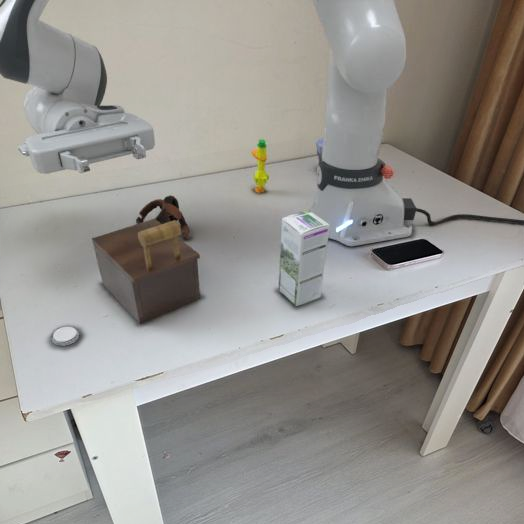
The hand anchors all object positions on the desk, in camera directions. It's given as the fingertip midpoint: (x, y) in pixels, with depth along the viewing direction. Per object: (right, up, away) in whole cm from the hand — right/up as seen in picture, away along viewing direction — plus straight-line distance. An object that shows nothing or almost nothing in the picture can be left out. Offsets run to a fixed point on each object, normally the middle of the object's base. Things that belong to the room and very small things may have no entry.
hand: (114, 160), depth 75 cm
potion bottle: (+40, +17, +52) cm, 68 cm away
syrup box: (+29, -19, +12) cm, 37 cm away
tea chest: (+3, -19, +11) cm, 22 cm away
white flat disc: (-8, -27, +2) cm, 29 cm away
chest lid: (+4, -13, +5) cm, 14 cm away
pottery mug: (+3, -5, +26) cm, 27 cm away
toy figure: (+22, +9, +42) cm, 48 cm away
